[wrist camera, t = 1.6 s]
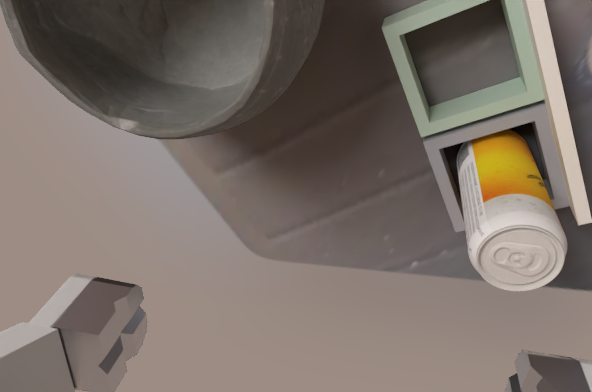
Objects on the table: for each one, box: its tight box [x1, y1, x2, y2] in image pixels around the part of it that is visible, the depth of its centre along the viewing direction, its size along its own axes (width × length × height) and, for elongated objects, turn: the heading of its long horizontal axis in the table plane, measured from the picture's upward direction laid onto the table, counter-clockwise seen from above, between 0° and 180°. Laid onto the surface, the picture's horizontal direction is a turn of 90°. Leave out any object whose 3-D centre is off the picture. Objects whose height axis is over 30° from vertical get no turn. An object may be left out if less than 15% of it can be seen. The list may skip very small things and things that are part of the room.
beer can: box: [457, 129, 567, 291], centre depth 39 cm, size 6×6×15 cm
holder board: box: [382, 0, 592, 232], centre depth 40 cm, size 10×20×6 cm, turn 25°
